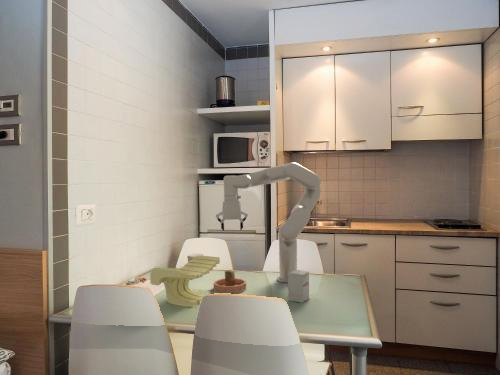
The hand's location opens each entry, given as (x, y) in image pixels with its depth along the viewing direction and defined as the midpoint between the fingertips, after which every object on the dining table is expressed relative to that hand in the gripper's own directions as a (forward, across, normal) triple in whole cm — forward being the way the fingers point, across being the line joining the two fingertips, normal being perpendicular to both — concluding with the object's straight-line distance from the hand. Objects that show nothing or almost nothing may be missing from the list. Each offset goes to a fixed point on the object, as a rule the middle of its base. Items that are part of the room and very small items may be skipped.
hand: (232, 230), depth 216 cm
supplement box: (+28, -31, +35) cm, 54 cm away
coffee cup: (+27, +22, -12) cm, 37 cm away
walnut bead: (+26, +1, +16) cm, 31 cm away
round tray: (+27, +1, +16) cm, 32 cm away
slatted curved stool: (+27, +20, +33) cm, 48 cm away
